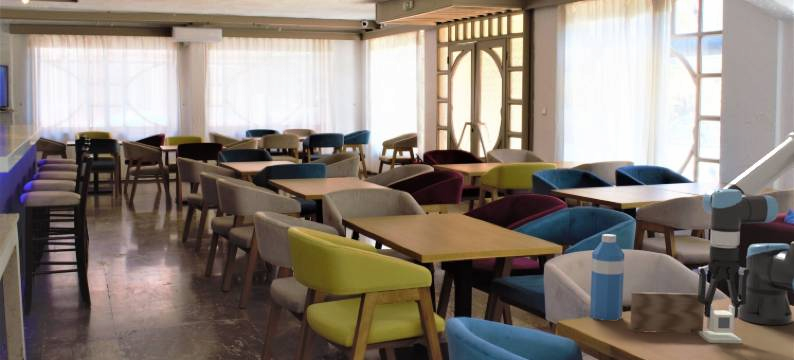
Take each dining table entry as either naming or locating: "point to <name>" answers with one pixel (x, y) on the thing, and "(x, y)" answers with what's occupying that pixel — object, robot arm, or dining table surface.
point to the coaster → (719, 337)
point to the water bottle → (607, 279)
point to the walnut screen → (666, 312)
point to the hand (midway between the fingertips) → (720, 328)
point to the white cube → (722, 322)
